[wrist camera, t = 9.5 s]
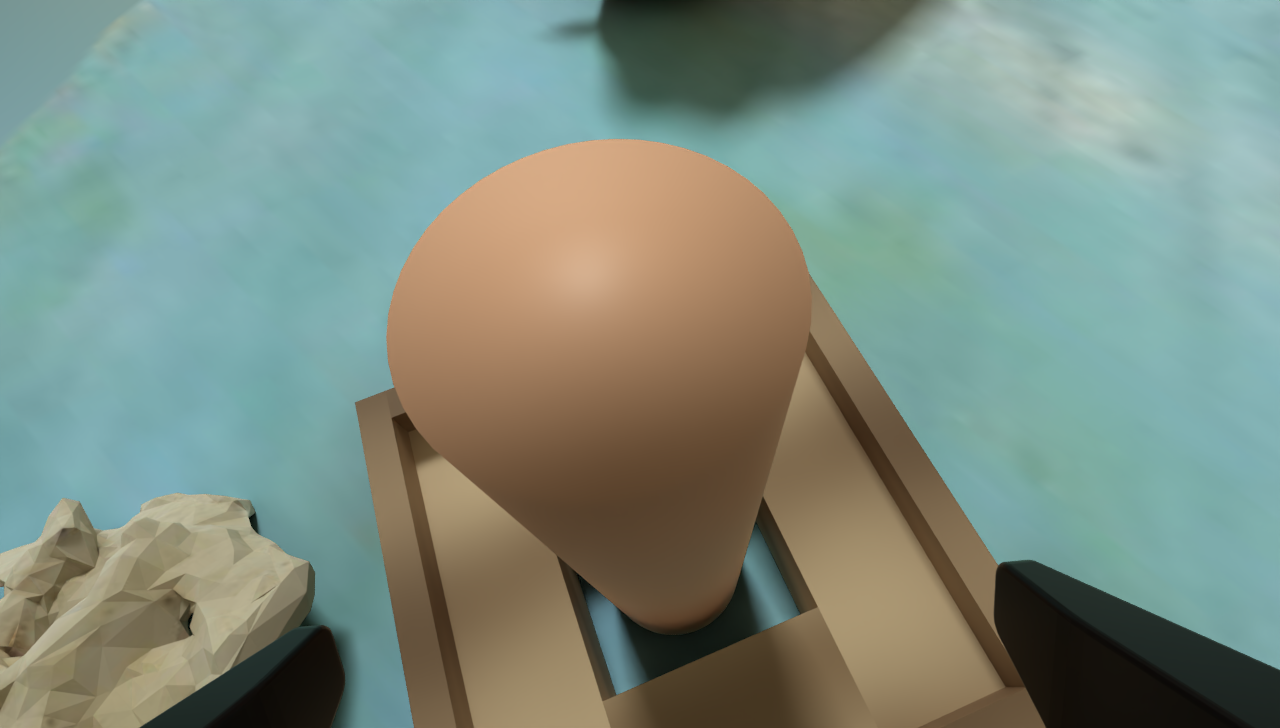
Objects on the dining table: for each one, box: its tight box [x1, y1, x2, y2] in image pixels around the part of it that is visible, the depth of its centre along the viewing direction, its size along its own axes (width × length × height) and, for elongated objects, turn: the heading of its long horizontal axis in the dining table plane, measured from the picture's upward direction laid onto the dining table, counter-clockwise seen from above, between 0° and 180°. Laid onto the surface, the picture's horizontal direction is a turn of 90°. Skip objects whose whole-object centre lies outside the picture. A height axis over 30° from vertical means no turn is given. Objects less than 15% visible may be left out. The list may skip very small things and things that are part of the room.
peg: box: [387, 139, 812, 635], centre depth 11 cm, size 4×4×13 cm
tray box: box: [355, 274, 1046, 728], centre depth 15 cm, size 12×12×4 cm
